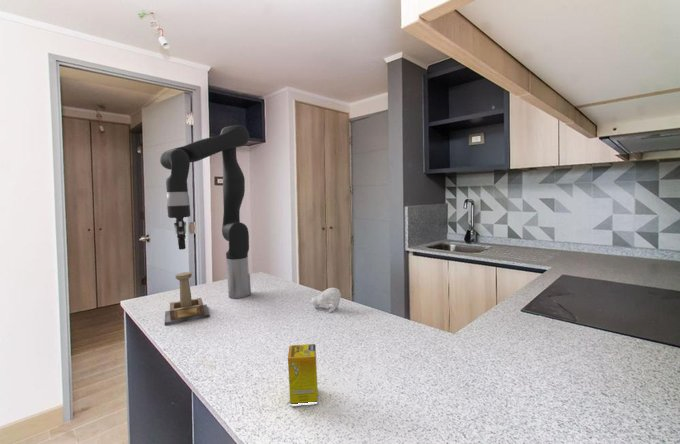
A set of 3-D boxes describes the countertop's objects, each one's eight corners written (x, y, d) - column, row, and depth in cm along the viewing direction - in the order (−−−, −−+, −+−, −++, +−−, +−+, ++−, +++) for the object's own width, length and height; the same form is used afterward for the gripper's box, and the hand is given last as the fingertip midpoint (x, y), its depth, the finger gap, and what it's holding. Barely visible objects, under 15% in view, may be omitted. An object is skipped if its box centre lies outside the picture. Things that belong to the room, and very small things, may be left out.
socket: (206, 306, 134) (206, 296, 134) (210, 316, 123) (209, 305, 122) (165, 313, 128) (164, 302, 127) (164, 325, 116) (163, 313, 116)
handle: (197, 309, 128) (194, 271, 127) (188, 315, 122) (185, 275, 121) (185, 309, 129) (182, 272, 128) (176, 315, 122) (172, 276, 121)
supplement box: (291, 391, 75) (289, 345, 74) (317, 388, 76) (315, 343, 75) (289, 407, 69) (287, 358, 68) (318, 405, 70) (316, 356, 69)
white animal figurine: (334, 290, 121) (306, 290, 126) (337, 313, 122) (309, 312, 127) (341, 285, 127) (314, 286, 132) (344, 307, 128) (316, 307, 132)
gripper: (190, 204, 117) (194, 249, 118) (188, 203, 130) (191, 244, 131) (166, 205, 114) (170, 251, 115) (167, 204, 126) (170, 246, 128)
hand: (182, 247), depth 123 cm, fingers open, 8 cm apart
